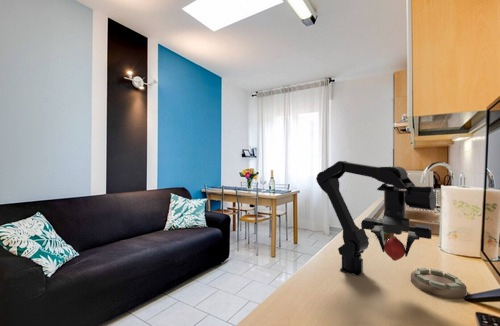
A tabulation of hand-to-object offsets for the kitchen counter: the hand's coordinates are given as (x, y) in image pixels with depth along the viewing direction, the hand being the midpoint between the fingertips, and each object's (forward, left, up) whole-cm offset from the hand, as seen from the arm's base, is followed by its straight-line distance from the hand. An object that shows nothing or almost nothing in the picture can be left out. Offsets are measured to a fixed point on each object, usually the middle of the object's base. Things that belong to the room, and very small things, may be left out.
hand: (394, 253), depth 75 cm
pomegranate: (0, 0, -2) cm, 2 cm away
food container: (-11, +54, -11) cm, 56 cm away
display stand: (+11, +9, -11) cm, 18 cm away
